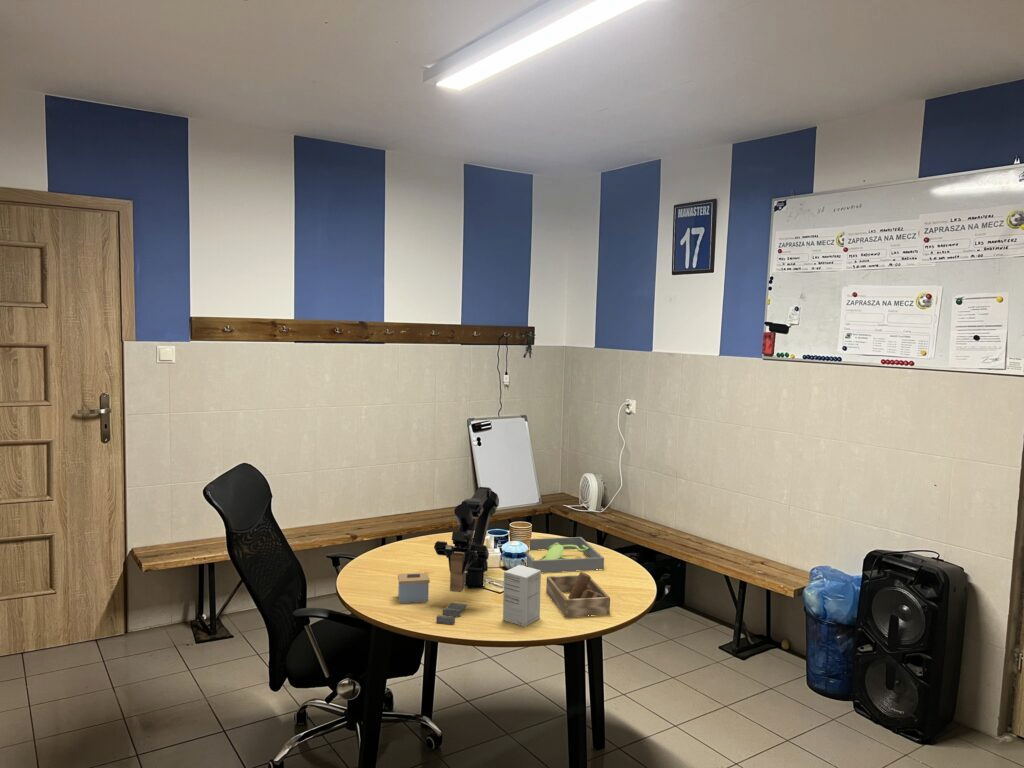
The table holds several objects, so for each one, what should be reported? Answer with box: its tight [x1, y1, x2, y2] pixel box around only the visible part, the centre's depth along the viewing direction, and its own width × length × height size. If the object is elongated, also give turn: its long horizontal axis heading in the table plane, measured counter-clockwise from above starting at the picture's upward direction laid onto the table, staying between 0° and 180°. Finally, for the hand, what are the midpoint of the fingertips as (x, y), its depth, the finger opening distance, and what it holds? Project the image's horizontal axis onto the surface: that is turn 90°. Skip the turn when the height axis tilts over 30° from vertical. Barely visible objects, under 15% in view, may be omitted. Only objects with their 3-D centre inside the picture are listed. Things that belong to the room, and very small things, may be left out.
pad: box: [446, 602, 468, 613], centre depth 259 cm, size 6×6×1 cm
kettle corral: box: [526, 536, 605, 574], centre depth 315 cm, size 30×30×5 cm
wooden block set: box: [567, 571, 604, 599], centre depth 266 cm, size 18×9×10 cm, turn 15°
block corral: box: [545, 574, 611, 618], centre depth 267 cm, size 16×24×6 cm, turn 13°
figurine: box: [531, 543, 589, 560], centre depth 315 cm, size 18×27×6 cm
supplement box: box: [502, 564, 542, 627], centre depth 250 cm, size 10×9×17 cm
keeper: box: [435, 607, 462, 625], centre depth 249 cm, size 8×6×2 cm
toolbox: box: [397, 572, 431, 604], centre depth 266 cm, size 11×8×9 cm
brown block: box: [449, 552, 466, 593], centre depth 258 cm, size 4×4×12 cm
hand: (456, 572), depth 256 cm, fingers closed on brown block, 4 cm apart
